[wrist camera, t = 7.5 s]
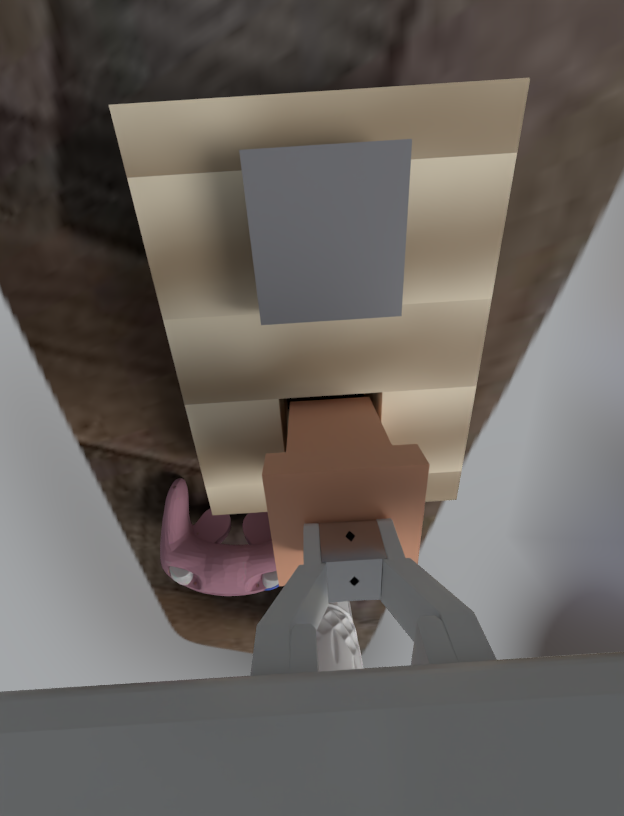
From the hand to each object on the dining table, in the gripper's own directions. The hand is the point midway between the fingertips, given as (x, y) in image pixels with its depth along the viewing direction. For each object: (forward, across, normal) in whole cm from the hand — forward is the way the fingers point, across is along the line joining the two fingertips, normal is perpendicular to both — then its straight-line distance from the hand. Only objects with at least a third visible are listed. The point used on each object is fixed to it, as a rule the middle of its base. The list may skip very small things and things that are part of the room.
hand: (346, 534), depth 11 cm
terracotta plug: (+7, 0, 0) cm, 7 cm away
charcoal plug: (+11, 0, -9) cm, 14 cm away
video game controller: (+11, +7, +8) cm, 16 cm away
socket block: (+11, 0, -5) cm, 12 cm away
